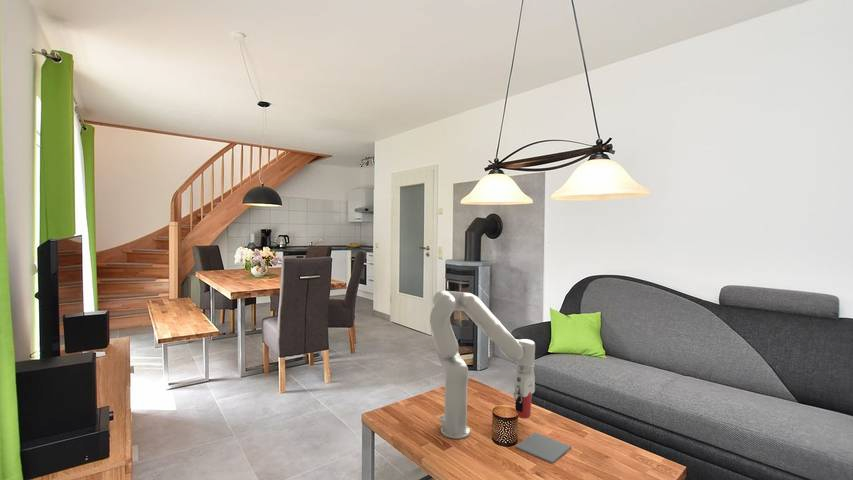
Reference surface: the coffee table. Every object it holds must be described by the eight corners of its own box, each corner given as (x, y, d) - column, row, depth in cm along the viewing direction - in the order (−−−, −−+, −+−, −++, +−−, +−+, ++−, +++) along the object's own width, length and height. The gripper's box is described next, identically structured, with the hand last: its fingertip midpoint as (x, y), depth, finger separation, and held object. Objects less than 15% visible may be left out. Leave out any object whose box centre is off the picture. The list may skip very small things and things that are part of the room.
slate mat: (515, 447, 160) (515, 446, 160) (535, 433, 172) (535, 432, 172) (552, 463, 149) (552, 462, 149) (571, 447, 161) (571, 446, 161)
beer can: (530, 419, 173) (532, 392, 173) (515, 417, 175) (516, 390, 175) (530, 413, 180) (531, 386, 180) (515, 411, 181) (516, 384, 181)
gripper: (522, 374, 168) (520, 417, 168) (542, 366, 181) (540, 406, 181) (507, 370, 173) (505, 411, 173) (527, 362, 186) (525, 401, 186)
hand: (523, 408), depth 177 cm, fingers closed on beer can, 6 cm apart
